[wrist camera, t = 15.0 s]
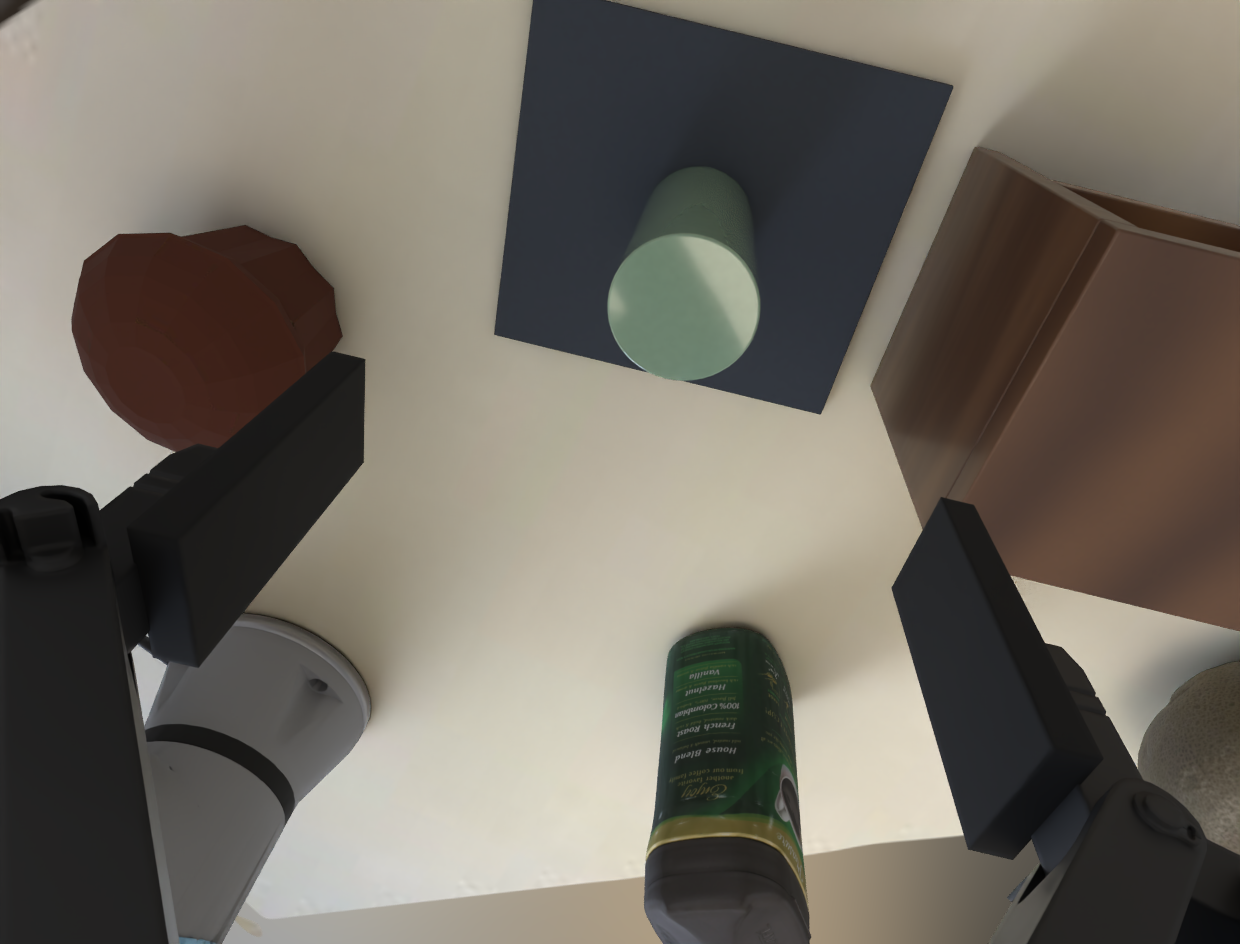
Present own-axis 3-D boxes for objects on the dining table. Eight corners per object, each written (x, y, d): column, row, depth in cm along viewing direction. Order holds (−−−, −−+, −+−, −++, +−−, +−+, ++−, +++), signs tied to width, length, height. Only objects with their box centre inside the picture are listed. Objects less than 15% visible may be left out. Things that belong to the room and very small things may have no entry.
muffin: (123, 228, 40) (-41, 288, 31) (296, 171, 37) (168, 219, 28) (240, 420, 45) (129, 513, 37) (398, 382, 42) (316, 475, 34)
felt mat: (496, 330, 40) (493, 335, 39) (538, -17, 31) (534, -17, 31) (819, 409, 40) (820, 414, 39) (950, 84, 31) (954, 86, 31)
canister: (632, 264, 36) (594, 362, 26) (656, 154, 34) (623, 216, 24) (734, 289, 36) (735, 396, 26) (767, 181, 34) (781, 255, 24)
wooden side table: (869, 386, 39) (931, 557, 27) (974, 145, 32) (1118, 228, 20) (1164, 458, 39) (1359, 661, 27) (1328, 232, 32) (1684, 366, 20)
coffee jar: (652, 632, 50) (616, 913, 35) (767, 612, 48) (783, 902, 32) (695, 726, 55) (680, 1012, 39) (802, 711, 52) (831, 1008, 37)
